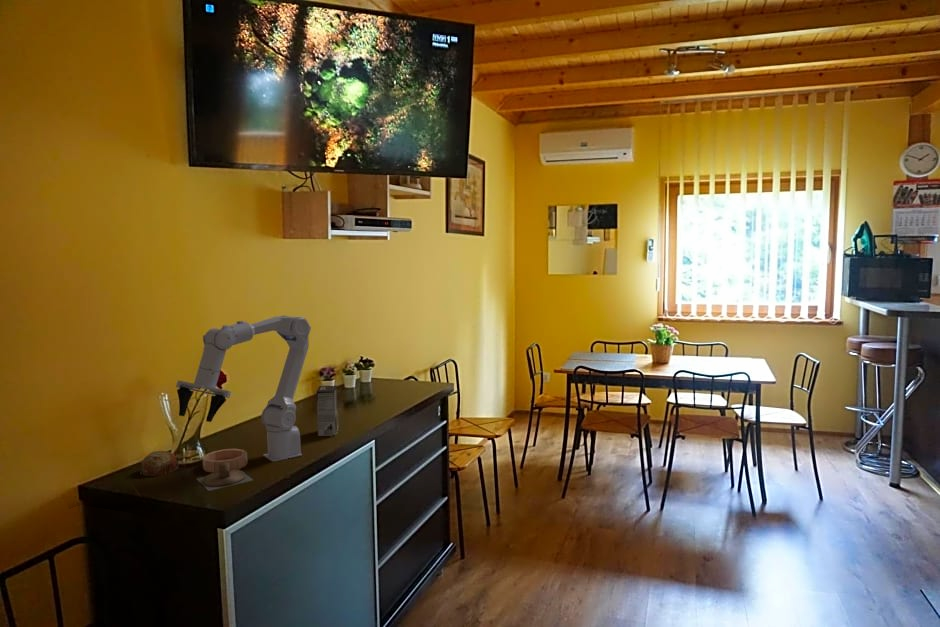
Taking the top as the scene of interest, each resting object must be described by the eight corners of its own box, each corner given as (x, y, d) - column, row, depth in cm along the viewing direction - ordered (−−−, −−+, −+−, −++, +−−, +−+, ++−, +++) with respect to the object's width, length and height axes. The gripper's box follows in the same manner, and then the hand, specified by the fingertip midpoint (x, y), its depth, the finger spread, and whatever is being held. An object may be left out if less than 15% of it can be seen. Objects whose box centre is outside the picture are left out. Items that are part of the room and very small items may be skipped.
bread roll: (143, 481, 186) (129, 461, 183) (175, 460, 192) (161, 439, 189) (155, 490, 179) (140, 468, 176) (187, 467, 185) (174, 446, 182)
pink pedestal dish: (238, 469, 183) (237, 455, 183) (251, 480, 174) (250, 464, 174) (198, 478, 176) (197, 463, 176) (209, 489, 168) (209, 473, 167)
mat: (239, 470, 184) (239, 468, 184) (253, 481, 174) (253, 480, 174) (196, 479, 176) (195, 478, 176) (208, 492, 167) (208, 490, 167)
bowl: (239, 457, 196) (238, 446, 195) (252, 467, 186) (252, 455, 186) (198, 465, 188) (198, 454, 188) (210, 476, 179) (210, 464, 178)
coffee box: (320, 430, 225) (318, 385, 223) (338, 429, 226) (337, 384, 224) (317, 437, 216) (315, 391, 214) (336, 436, 217) (334, 390, 215)
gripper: (177, 363, 171) (162, 412, 169) (229, 374, 171) (215, 423, 168) (188, 366, 178) (174, 413, 175) (238, 376, 178) (224, 424, 175)
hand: (195, 418), depth 172 cm, fingers open, 7 cm apart
